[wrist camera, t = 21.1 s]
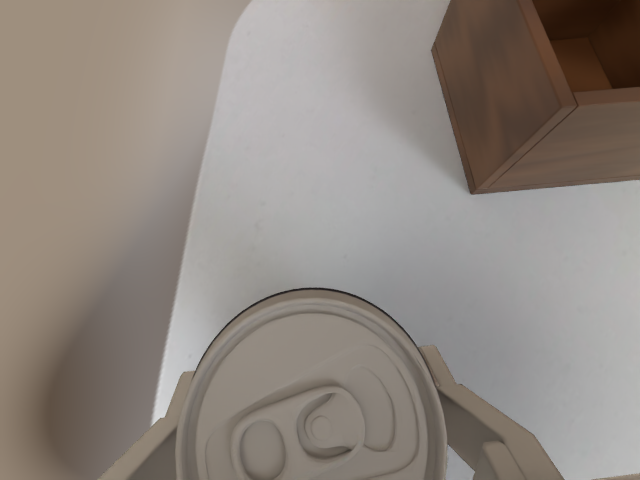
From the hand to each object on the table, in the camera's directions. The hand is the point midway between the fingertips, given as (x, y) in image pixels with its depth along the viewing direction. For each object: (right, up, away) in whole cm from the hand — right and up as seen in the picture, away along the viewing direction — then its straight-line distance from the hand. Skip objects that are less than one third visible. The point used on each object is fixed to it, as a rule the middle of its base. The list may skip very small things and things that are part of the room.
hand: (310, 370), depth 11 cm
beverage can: (0, -3, +6) cm, 7 cm away
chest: (+17, +15, +14) cm, 27 cm away
